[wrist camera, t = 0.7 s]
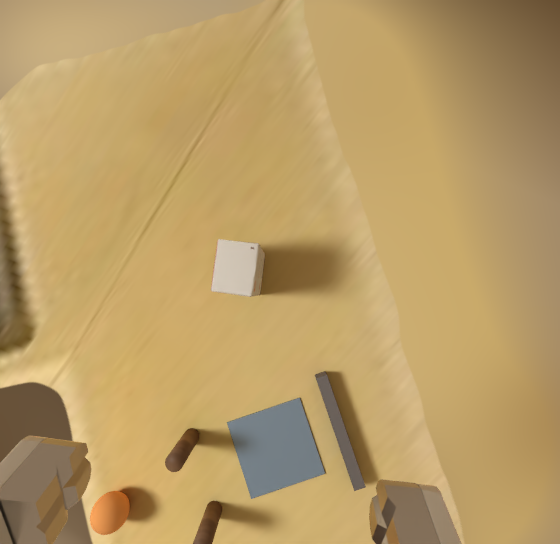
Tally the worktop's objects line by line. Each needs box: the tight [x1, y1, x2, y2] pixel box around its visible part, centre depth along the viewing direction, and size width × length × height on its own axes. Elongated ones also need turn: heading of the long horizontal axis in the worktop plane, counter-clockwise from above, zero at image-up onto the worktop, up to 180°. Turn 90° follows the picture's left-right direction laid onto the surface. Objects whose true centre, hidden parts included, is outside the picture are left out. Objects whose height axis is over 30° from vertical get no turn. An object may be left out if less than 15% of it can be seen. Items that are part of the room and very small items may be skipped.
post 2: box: [193, 501, 222, 544], centre depth 53 cm, size 3×3×9 cm
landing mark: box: [227, 398, 325, 499], centre depth 58 cm, size 14×14×1 cm
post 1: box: [165, 428, 199, 472], centre depth 54 cm, size 3×3×9 cm
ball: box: [90, 491, 130, 535], centre depth 55 cm, size 6×6×6 cm
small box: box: [211, 239, 265, 297], centre depth 53 cm, size 8×6×13 cm
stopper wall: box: [315, 371, 365, 491], centre depth 57 cm, size 20×2×2 cm, turn 19°
